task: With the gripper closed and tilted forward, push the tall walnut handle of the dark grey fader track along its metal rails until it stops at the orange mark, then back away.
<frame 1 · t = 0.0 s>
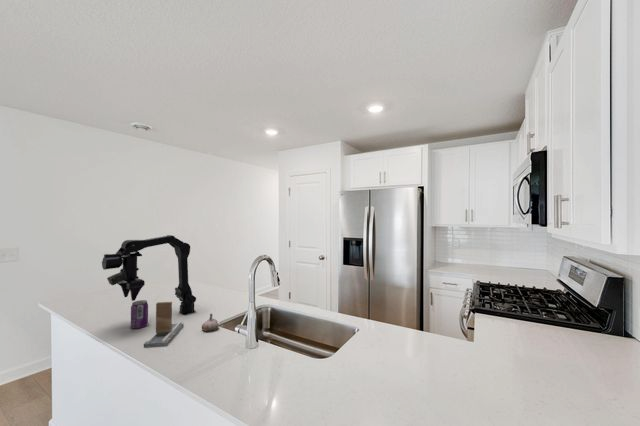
hand: (129, 298, 130), 15 cm above the worktop, tool pointing down, fingers open, 9 cm apart
fader handle: (163, 318, 121), point 9 cm above the worktop, slide at 0.0 cm
beverage can: (139, 326, 133), on the worktop
garlic bulb: (210, 330, 130), on the worktop
fader track: (165, 336, 123), on the worktop
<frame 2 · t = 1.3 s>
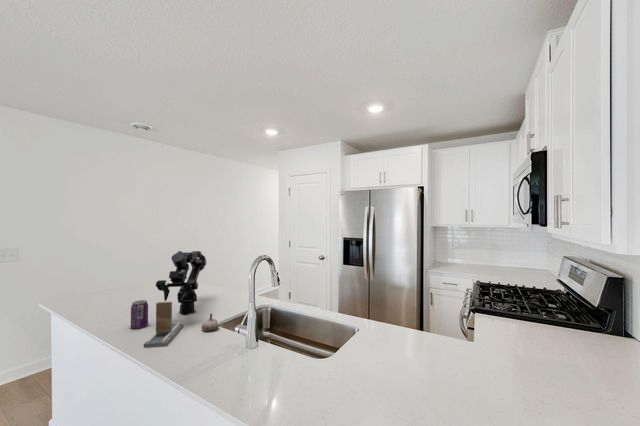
hand: (172, 300, 131), 13 cm above the worktop, tool tilted 45°, fingers open, 7 cm apart
nothing on the worktop moved.
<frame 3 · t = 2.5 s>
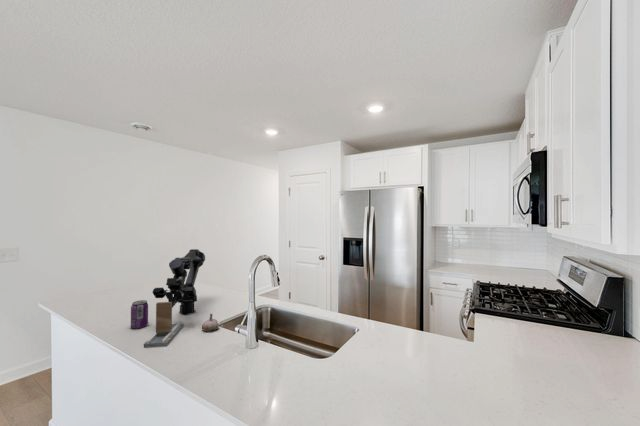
hand: (170, 308, 128), 11 cm above the worktop, tool tilted 45°, fingers closed
nothing on the worktop moved.
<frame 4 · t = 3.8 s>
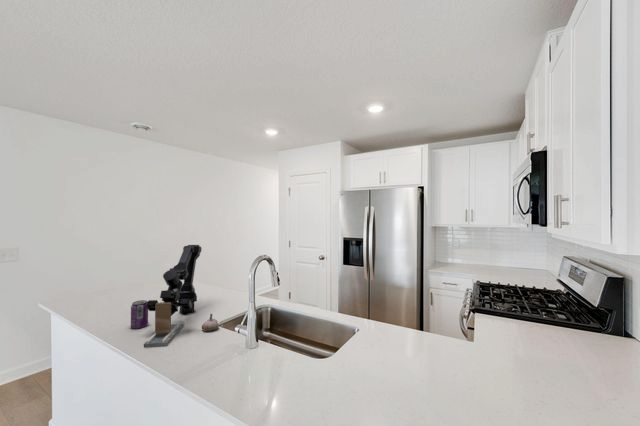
hand: (164, 322, 121), 7 cm above the worktop, tool tilted 45°, fingers closed, pressing on fader handle
fader handle: (163, 319, 120), point 9 cm above the worktop, slide at 0.8 cm, touching gripper
everything else where it was.
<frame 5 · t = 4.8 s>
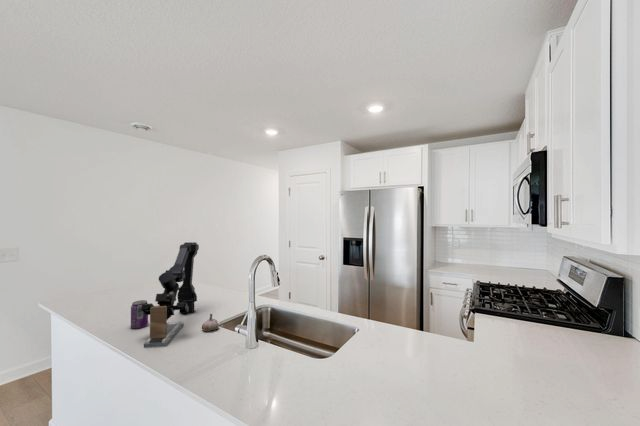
hand: (159, 327, 117), 7 cm above the worktop, tool tilted 45°, fingers closed, pressing on fader handle
fader handle: (158, 323, 116), point 9 cm above the worktop, slide at 5.6 cm, touching gripper
everything else where it was.
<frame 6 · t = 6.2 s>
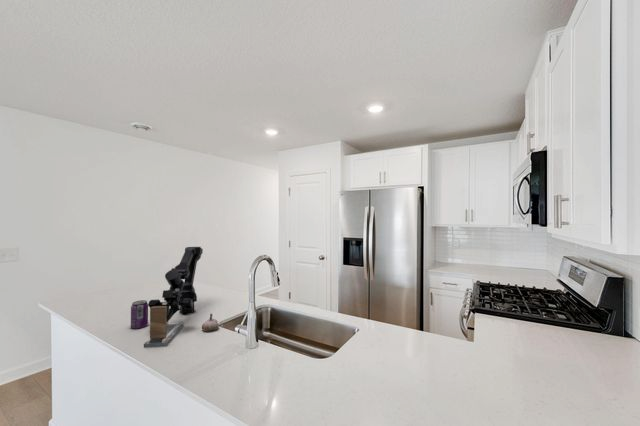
hand: (166, 321, 124), 6 cm above the worktop, tool tilted 45°, fingers closed
fader handle: (158, 323, 115), point 9 cm above the worktop, slide at 5.7 cm
everything else where it was.
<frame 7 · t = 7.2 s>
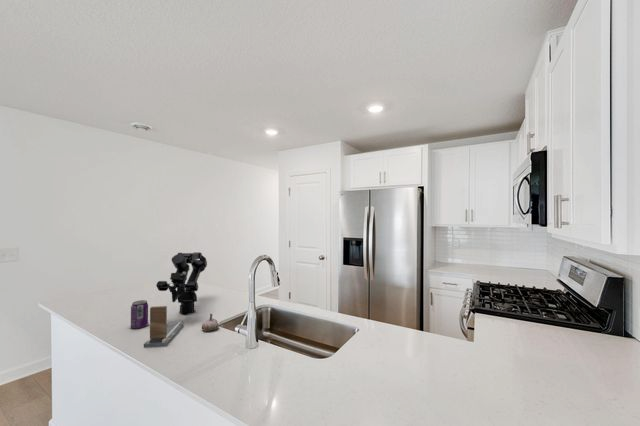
hand: (173, 301, 133), 12 cm above the worktop, tool tilted 40°, fingers closed
nothing on the worktop moved.
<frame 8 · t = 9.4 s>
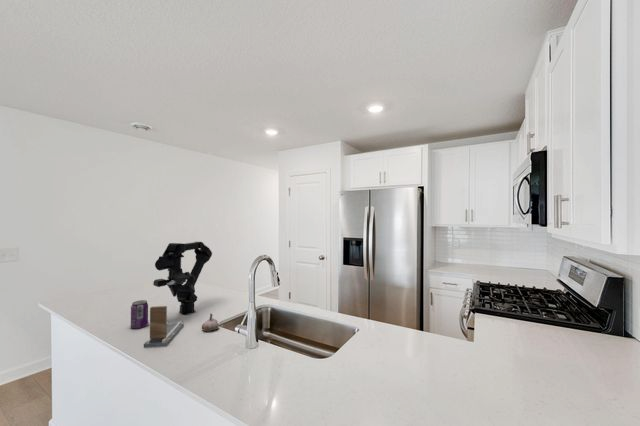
hand: (174, 296, 143), 12 cm above the worktop, tool pointing down, fingers closed
nothing on the worktop moved.
at the end: fader handle slide at 5.7 cm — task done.
